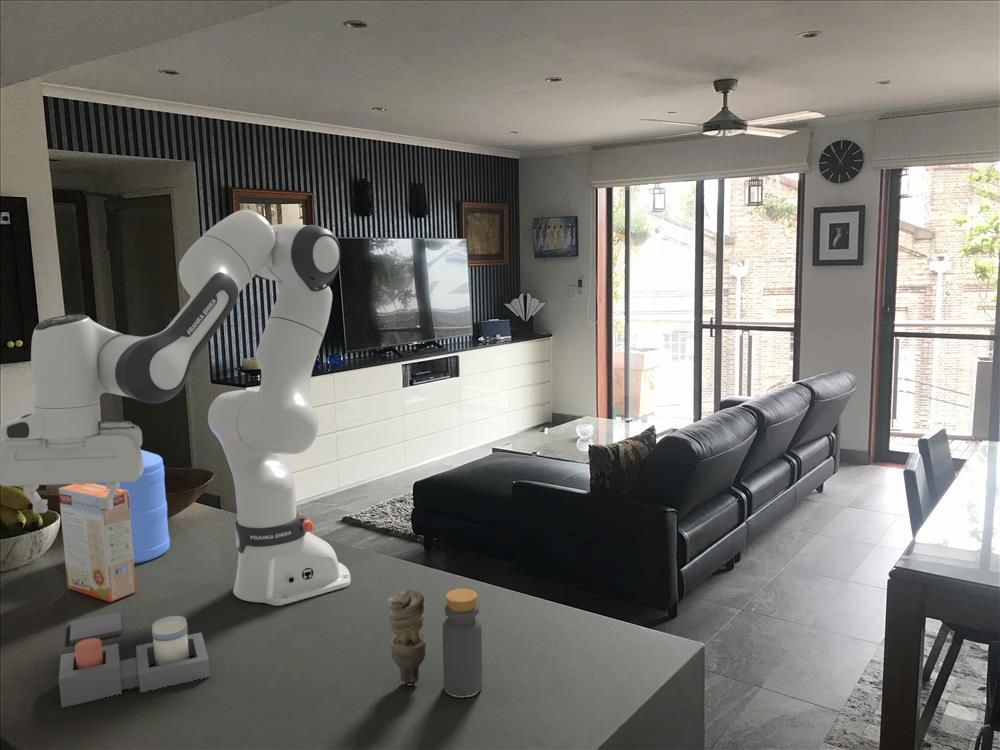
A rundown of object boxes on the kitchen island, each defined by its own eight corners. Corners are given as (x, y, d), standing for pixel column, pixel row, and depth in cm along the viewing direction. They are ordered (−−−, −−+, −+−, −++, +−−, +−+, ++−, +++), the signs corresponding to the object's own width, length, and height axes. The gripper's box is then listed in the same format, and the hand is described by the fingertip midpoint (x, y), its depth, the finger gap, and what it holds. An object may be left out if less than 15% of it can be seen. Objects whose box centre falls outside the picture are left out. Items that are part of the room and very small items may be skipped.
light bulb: (392, 696, 120) (389, 601, 118) (387, 677, 125) (384, 586, 123) (429, 690, 121) (427, 596, 119) (423, 672, 127) (420, 582, 124)
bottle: (461, 674, 126) (460, 583, 124) (490, 686, 122) (489, 593, 120) (435, 690, 122) (433, 596, 119) (464, 703, 118) (462, 607, 116)
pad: (120, 616, 147) (120, 611, 147) (121, 634, 140) (121, 630, 140) (71, 625, 144) (71, 621, 143) (70, 644, 137) (69, 640, 136)
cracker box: (138, 592, 157) (129, 489, 154) (110, 604, 152) (100, 497, 149) (95, 578, 164) (85, 479, 161) (66, 589, 159) (56, 487, 156)
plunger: (104, 666, 125) (101, 636, 124) (104, 677, 122) (101, 646, 121) (78, 671, 123) (75, 641, 123) (77, 683, 120) (74, 651, 119)
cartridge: (188, 659, 131) (185, 613, 130) (192, 673, 127) (188, 626, 126) (154, 666, 129) (150, 619, 128) (156, 681, 125) (152, 633, 123)
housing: (202, 649, 135) (200, 623, 134) (210, 677, 126) (208, 650, 125) (64, 678, 126) (61, 651, 125) (61, 711, 117) (58, 682, 116)
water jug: (185, 548, 180) (176, 426, 176) (120, 572, 167) (109, 441, 163) (142, 536, 188) (132, 419, 184) (77, 558, 175) (65, 432, 171)
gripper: (146, 417, 127) (150, 502, 129) (4, 420, 123) (11, 507, 125) (136, 425, 121) (140, 514, 123) (-14, 428, 117) (-7, 520, 119)
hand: (74, 511), depth 124 cm, fingers open, 8 cm apart
